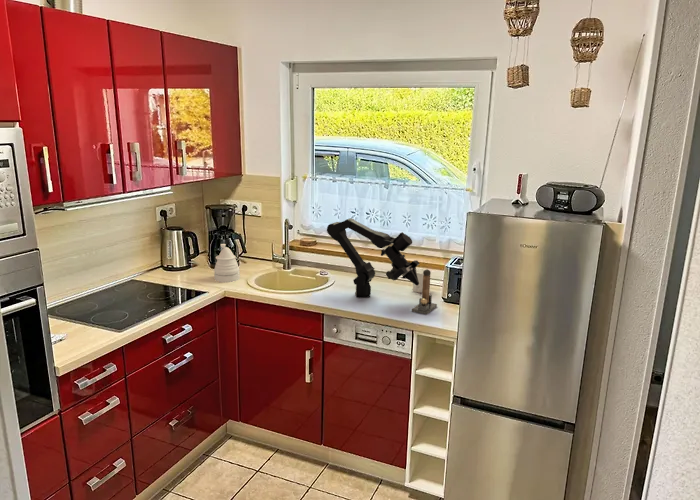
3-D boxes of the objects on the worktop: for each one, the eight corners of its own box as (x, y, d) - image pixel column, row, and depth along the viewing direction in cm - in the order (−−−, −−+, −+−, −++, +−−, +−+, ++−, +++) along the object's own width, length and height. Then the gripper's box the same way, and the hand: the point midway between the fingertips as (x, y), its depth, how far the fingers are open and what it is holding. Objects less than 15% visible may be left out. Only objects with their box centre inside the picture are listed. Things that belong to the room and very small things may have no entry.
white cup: (427, 293, 253) (428, 273, 250) (411, 292, 254) (411, 272, 252) (428, 288, 260) (429, 269, 258) (412, 287, 262) (413, 268, 259)
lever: (420, 303, 232) (421, 270, 228) (423, 300, 236) (425, 267, 232) (427, 304, 231) (428, 271, 227) (430, 302, 234) (432, 269, 230)
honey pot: (209, 279, 269) (207, 245, 265) (227, 273, 280) (225, 241, 276) (227, 283, 263) (225, 249, 259) (245, 277, 273) (244, 244, 269)
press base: (411, 311, 228) (412, 298, 227) (422, 303, 239) (423, 290, 237) (426, 314, 225) (427, 300, 223) (437, 306, 235) (437, 293, 234)
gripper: (392, 263, 248) (413, 289, 245) (375, 272, 232) (397, 300, 229) (409, 249, 242) (430, 275, 240) (392, 257, 226) (414, 286, 224)
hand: (418, 284), depth 233 cm, fingers closed
